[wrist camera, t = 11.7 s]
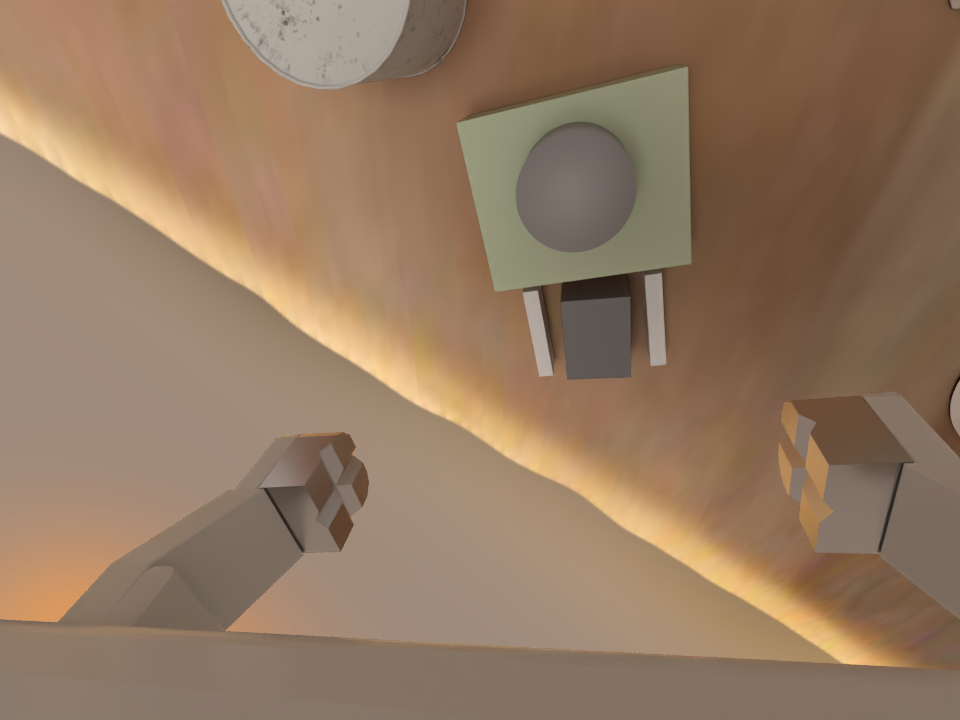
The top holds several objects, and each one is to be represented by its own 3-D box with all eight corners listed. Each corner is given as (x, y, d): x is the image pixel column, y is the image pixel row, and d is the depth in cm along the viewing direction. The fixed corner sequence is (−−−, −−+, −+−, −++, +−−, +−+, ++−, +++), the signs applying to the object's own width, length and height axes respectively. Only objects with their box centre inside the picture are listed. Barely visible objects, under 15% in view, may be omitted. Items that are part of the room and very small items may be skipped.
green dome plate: (677, 64, 32) (701, 69, 25) (684, 346, 42) (703, 403, 35) (468, 115, 35) (441, 131, 29) (522, 363, 45) (511, 417, 39)
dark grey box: (625, 273, 40) (630, 296, 36) (626, 348, 43) (630, 377, 39) (562, 278, 41) (560, 301, 37) (568, 351, 44) (567, 379, 40)
